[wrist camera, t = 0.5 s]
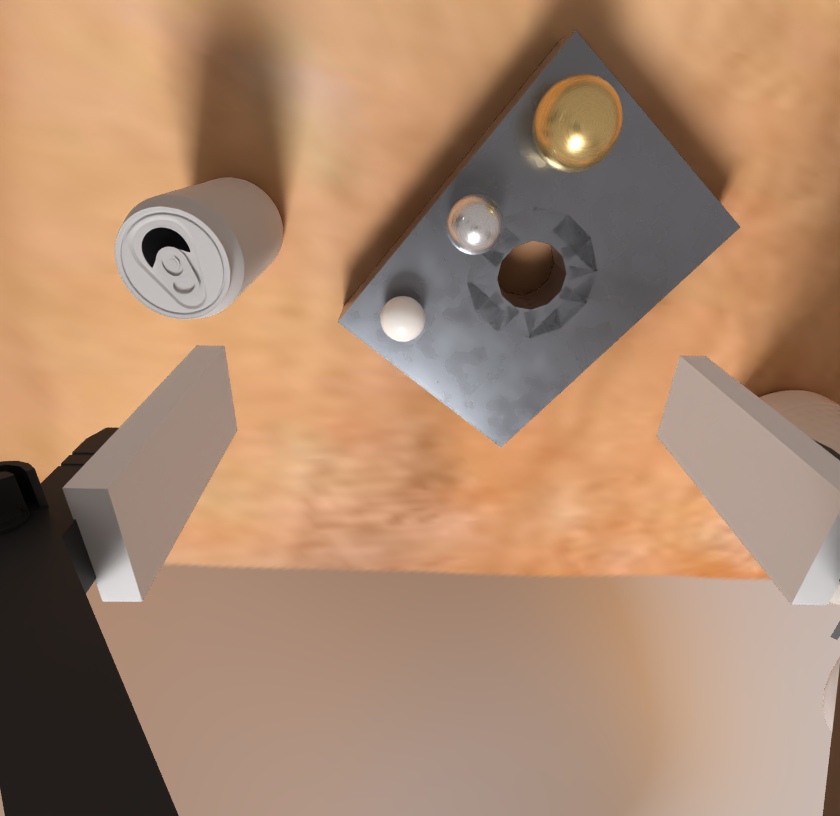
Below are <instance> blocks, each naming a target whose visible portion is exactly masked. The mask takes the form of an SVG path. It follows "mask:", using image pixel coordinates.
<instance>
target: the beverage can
mask: <svg viewBox="0 0 840 816" xmlns="http://www.w3.org/2000/svg"><path fill="white" fill-rule="evenodd" d="M282 241H283V225H282V220H281V217H280V214H279V211H278V209H277V207H276V206H275V204H274V202H273V201H272V200H271V198H270V197H269V196H268V195H267V194H266V193H265V192H264V191H263V190H262V189H260V188H259V187H258V186H256V185H254V184H253V183H251V182H248V181H246V180H243V179H238V178H233V177H223V178H218V179H214V180H211V181H207V182H204V183H200V184H197V185H193V186H190V187H186V188H183V189H179V190H176V191H172V192H169V193H165V194H162V195H158V196H155V197H152V198H149V199H147V200H145V201H143V202H141V203H139V204H138V205H137V206H136V207H134V208H133V209H132V210H131V211H130V213H129V214H128V216H127V217H126V219H125V221H124V223H123V225H122V226H121V228H120V230H119V232H118V235H117V238H116V243H115V260H116V265H117V268H118V271H119V274H120V276H121V278H122V280H123V282H124V284H125V285H126V287H127V288H128V289H129V291H130V292H131V293H132V294H133V295H134V296H135V298H137V299H138V300H139V301H140V302H141V303H142V304H143V305H145V306H146V307H148V308H149V309H151V310H153V311H155V312H156V313H159V314H161V315H164V316H167V317H170V318H175V319H194V318H205V317H209V316H213V315H215V314H218V313H220V312H221V311H223V310H225V309H226V308H227V307H228V306H230V305H231V304H232V303H233V302H234V301H235V300H236V299H237V298H238V297H239V296H240V295H241V293H242V292H243V291H244V290H245V289H246V288H247V287H248V286H249V285H250V284H251V283H252V282H253V281H254V280H255V279H256V278H257V277H258V276H259V275H260V274H261V273H262V272H263V271H264V270H265V269H266V268H267V267H268V266H269V265H270V264H271V263H272V262H273V261H274V260H275V258H276V257H277V255H278V253H279V251H280V249H281V246H282Z"/></svg>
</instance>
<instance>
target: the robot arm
mask: <svg viewBox="0 0 840 816" xmlns="http://www.w3.org/2000/svg"><path fill="white" fill-rule="evenodd" d="M236 431H237V425H236V418H235V412H234V405H233V399H232V392H231V386H230V379H229V372H228V366H227V359H226V353H225V346H199V345H197V346H196V347H195V348H194V349H193V350H192V351H191V352H190V353H189V354H188V356H187V357H186V358H185V359H184V360H183V361H182V362H181V363H180V364H179V365H178V366H177V367H176V368H175V369H174V370H173V371H172V372H171V374H170V375H169V376H168V377H167V378H166V379H165V380H164V381H163V382H162V383H161V384H160V385H159V386H158V387H157V388H156V389H155V390H154V392H153V393H152V394H151V395H150V396H149V397H148V398H147V399H146V400H145V401H144V402H143V403H142V404H141V405H140V406H139V407H138V408H137V410H136V411H135V412H134V413H133V414H132V415H131V416H130V417H129V418H128V419H127V420H126V421H125V422H124V423H123V424H122V425H121V426H120V428H105V429H103V430H102V431H100V432H98V433H96V434H94V435H92V436H91V437H89V438H87V439H86V440H85V441H84V442H83V443H81V444H80V445H79V446H78V447H77V448H76V449H75V450H74V451H73V452H72V453H73V454H72V455H69V456H68V457H67V458H66V459H65V460H64V461H63V462H62V463H61V466H58V467H57V468H56V469H55V470H54V471H53V472H52V473H51V474H50V475H49V476H48V477H47V478H46V479H45V480H44V481H43V482H42V483H41V484H40V482H39V479H38V476H37V474H36V471H35V469H34V468H33V467H32V466H31V465H30V464H29V463H25V462H20V461H3V462H0V790H1V796H2V801H3V807H4V812H5V816H178V813H177V811H176V808H175V806H174V804H173V802H172V799H171V796H170V794H169V792H168V789H167V787H166V785H165V783H164V780H163V777H162V775H161V773H160V770H159V768H158V766H157V763H156V761H155V758H154V756H153V753H152V751H151V749H150V746H149V744H148V742H147V739H146V737H145V734H144V732H143V730H142V727H141V725H140V723H139V720H138V718H137V715H136V713H135V711H134V708H133V706H132V703H131V701H130V699H129V696H128V694H127V691H126V689H125V687H124V684H123V682H122V680H121V677H120V675H119V672H118V670H117V668H116V665H115V663H114V660H113V658H112V656H111V653H110V651H109V649H108V646H107V644H106V641H105V639H104V637H103V634H102V632H101V629H100V627H99V625H98V622H97V620H96V618H95V615H94V613H93V611H92V608H91V606H90V604H89V601H88V598H87V596H86V592H87V591H88V590H89V588H90V587H91V585H92V584H93V582H94V581H96V584H97V587H98V590H99V593H100V595H101V598H102V601H103V602H107V601H108V602H142V601H143V600H144V598H145V596H146V594H147V592H148V591H149V589H150V587H151V585H152V583H153V582H154V580H155V578H156V576H157V574H158V572H159V571H160V569H161V567H162V565H163V563H164V562H165V560H166V558H167V556H168V554H169V553H170V551H171V549H172V547H173V545H174V544H175V542H176V540H177V538H178V536H179V534H180V533H181V531H182V529H183V527H184V525H185V524H186V522H187V520H188V518H189V516H190V515H191V513H192V511H193V509H194V507H195V506H196V504H197V502H198V500H199V498H200V496H201V495H202V493H203V491H204V489H205V487H206V486H207V484H208V482H209V480H210V478H211V477H212V475H213V473H214V471H215V469H216V468H217V466H218V464H219V462H220V460H221V458H222V457H223V455H224V453H225V451H226V449H227V448H228V446H229V444H230V442H231V440H232V439H233V437H234V435H235V433H236ZM657 437H658V439H659V440H660V441H661V442H662V444H663V445H664V446H665V447H666V449H667V450H668V451H669V452H670V454H671V455H672V456H673V457H674V459H675V460H676V461H677V462H678V464H679V465H680V466H681V467H682V469H683V470H684V471H685V472H686V474H687V475H688V476H689V477H690V479H691V480H692V481H693V482H694V484H695V485H696V486H697V487H698V489H699V490H700V491H701V492H702V494H703V495H704V496H705V497H706V499H707V500H708V501H709V502H710V504H711V505H712V506H713V507H714V509H715V510H716V511H717V512H718V514H719V515H720V516H721V517H722V519H723V520H724V521H725V522H726V524H727V525H728V526H729V527H730V529H731V530H732V531H733V532H734V534H735V535H736V536H737V537H738V539H739V540H740V541H741V542H742V544H743V545H744V546H745V547H746V549H747V550H748V551H749V552H750V554H751V555H752V556H753V557H754V559H755V560H756V561H757V562H758V564H759V565H760V566H761V567H762V569H763V570H764V571H765V572H766V574H767V575H768V576H769V577H770V579H771V580H772V581H773V582H774V584H775V585H776V586H777V587H778V589H779V590H780V591H781V592H782V594H783V595H784V596H785V597H786V599H787V600H788V601H789V602H790V604H791V605H828V603H829V601H830V600H831V598H832V596H833V594H834V592H835V591H836V589H837V587H838V585H839V584H840V454H838V453H837V452H836V451H834V450H833V449H831V448H829V447H827V446H825V445H823V444H821V443H819V442H817V441H815V440H813V439H811V438H810V437H809V436H807V435H806V434H805V433H804V432H802V431H801V430H800V429H798V428H797V427H796V426H795V425H793V424H792V423H791V422H789V421H788V420H787V419H786V418H784V417H783V416H782V415H780V414H779V413H778V412H777V411H775V410H774V409H773V408H771V407H770V406H769V405H768V404H766V403H765V402H764V401H762V400H761V399H760V398H759V397H757V396H756V395H755V394H753V393H752V392H751V391H750V390H748V389H747V388H746V387H744V386H743V385H742V384H741V383H739V382H738V381H737V380H735V379H734V378H733V377H732V376H730V375H729V374H728V373H726V372H725V371H724V370H723V369H721V368H720V367H719V366H718V365H716V364H715V363H714V362H712V361H711V360H710V359H709V358H707V357H706V356H680V357H679V361H678V364H677V368H676V371H675V375H674V378H673V382H672V385H671V389H670V392H669V396H668V399H667V403H666V406H665V410H664V413H663V417H662V420H661V424H660V427H659V431H658V434H657ZM839 636H840V622H839V623H838V625H837V627H836V629H835V630H834V632H833V634H832V635H831V637H832V638H834V639H838V638H839ZM823 816H840V667H839V676H838V685H837V694H836V703H835V712H834V721H833V729H832V738H831V747H830V757H829V766H828V775H827V783H826V792H825V801H824V810H823Z"/></svg>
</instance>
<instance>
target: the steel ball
mask: <svg viewBox="0 0 840 816" xmlns="http://www.w3.org/2000/svg"><path fill="white" fill-rule="evenodd" d="M503 230H504V216H503V213H502V211H501V209H500V207H499V205H498V204H497V203H496V202H495V201H494V200H493V199H491V198H490V197H488V196H485V195H481V194H471V195H468V196H465V197H463V198H461V199H460V200H458V201H457V202H456V203H455V204H454V205H453V207H452V208H451V210H450V212H449V214H448V218H447V233H448V236H449V239H450V241H451V242H452V244H453V245H454V246H455V247H456V248H457V249H458V250H460V251H461V252H464V253H466V254H471V255H478V254H483V253H486V252H488V251H489V250H491V249H492V248H494V247H495V246H496V244H497V243H498V242H499V240H500V239H501V236H502V234H503Z"/></svg>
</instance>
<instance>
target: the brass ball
mask: <svg viewBox="0 0 840 816" xmlns="http://www.w3.org/2000/svg"><path fill="white" fill-rule="evenodd" d="M622 124H623V109H622V104H621V101H620V98H619V96H618V94H617V92H616V91H615V89H614V88H613V87H612V86H611V85H610V84H609V83H608V82H607V81H605V80H604V79H602V78H600V77H598V76H595V75H591V74H576V75H572V76H569V77H566V78H564V79H562V80H560V81H559V82H557V83H556V84H554V85H553V86H552V87H551V88H550V89H549V90H548V91H547V92H546V93H545V95H544V96H543V97H542V99H541V101H540V102H539V104H538V106H537V109H536V111H535V114H534V118H533V125H532V135H533V141H534V145H535V148H536V150H537V152H538V154H539V155H540V157H541V158H542V159H543V161H544V162H546V163H547V164H548V165H549V166H551V167H552V168H554V169H556V170H559V171H562V172H568V173H574V172H581V171H585V170H588V169H590V168H592V167H594V166H596V165H597V164H599V163H600V162H601V161H603V160H604V159H605V158H606V157H607V156H608V155H609V153H610V152H611V151H612V149H613V148H614V146H615V145H616V143H617V141H618V138H619V136H620V133H621V129H622Z"/></svg>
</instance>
